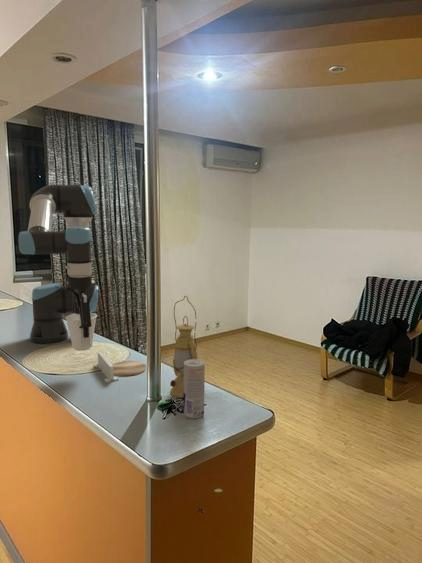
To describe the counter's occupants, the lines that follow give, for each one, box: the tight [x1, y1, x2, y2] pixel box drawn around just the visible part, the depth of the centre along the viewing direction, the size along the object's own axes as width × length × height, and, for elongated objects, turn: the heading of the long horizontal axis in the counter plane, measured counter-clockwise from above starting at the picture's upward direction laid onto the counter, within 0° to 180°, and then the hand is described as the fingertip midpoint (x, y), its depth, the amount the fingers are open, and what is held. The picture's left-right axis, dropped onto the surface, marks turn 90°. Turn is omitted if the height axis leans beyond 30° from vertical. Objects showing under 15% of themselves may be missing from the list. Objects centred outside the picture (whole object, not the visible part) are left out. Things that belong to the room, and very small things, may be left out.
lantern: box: [169, 295, 199, 398], centre depth 122 cm, size 12×10×30 cm
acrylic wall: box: [93, 351, 119, 383], centre depth 138 cm, size 16×4×5 cm, turn 30°
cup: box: [64, 312, 98, 352], centre depth 135 cm, size 10×10×11 cm
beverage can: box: [183, 359, 206, 419], centre depth 110 cm, size 6×6×15 cm
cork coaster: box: [111, 360, 147, 377], centre depth 142 cm, size 13×13×1 cm
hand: (82, 341), depth 136 cm, fingers closed on cup, 9 cm apart
